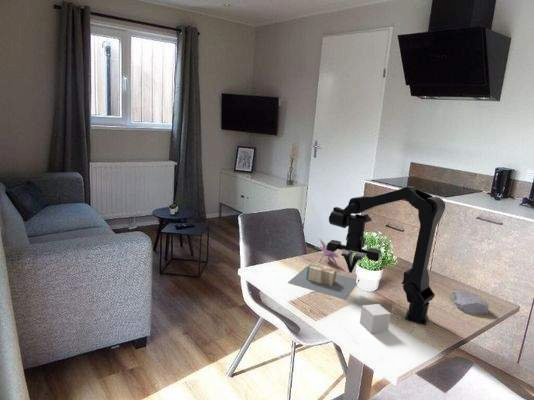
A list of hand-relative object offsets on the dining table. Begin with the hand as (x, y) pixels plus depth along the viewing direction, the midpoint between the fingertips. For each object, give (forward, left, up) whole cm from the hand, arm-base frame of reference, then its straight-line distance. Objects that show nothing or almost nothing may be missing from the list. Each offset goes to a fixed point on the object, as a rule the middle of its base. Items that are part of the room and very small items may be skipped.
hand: (350, 272), depth 142 cm
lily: (+21, +15, -7) cm, 27 cm away
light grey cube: (-22, -14, -7) cm, 27 cm away
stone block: (+13, -39, -7) cm, 42 cm away
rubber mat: (0, +9, -7) cm, 11 cm away
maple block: (0, +6, -4) cm, 7 cm away
